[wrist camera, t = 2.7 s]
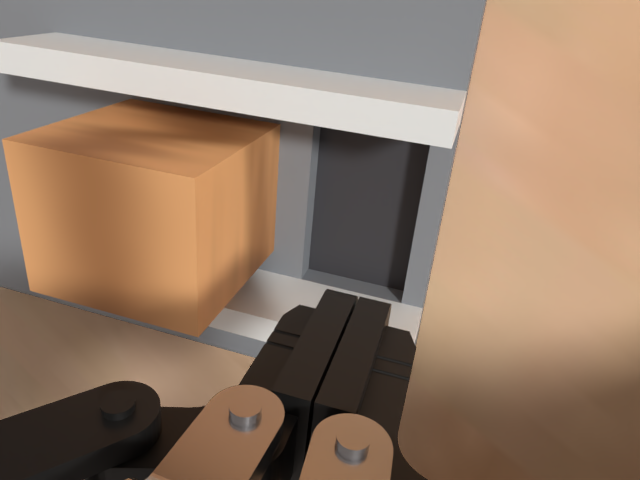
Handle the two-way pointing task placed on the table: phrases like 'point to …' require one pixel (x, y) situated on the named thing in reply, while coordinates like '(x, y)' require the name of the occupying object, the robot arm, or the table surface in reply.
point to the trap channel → (275, 107)
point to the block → (146, 209)
